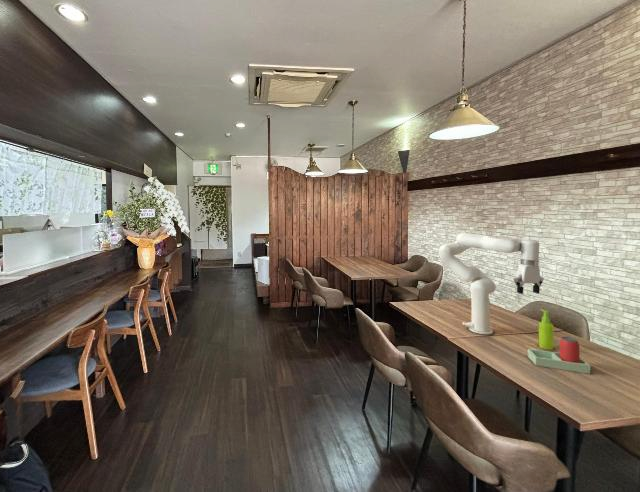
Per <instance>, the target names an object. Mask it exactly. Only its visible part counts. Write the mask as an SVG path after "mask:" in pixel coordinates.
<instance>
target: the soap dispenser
mask: <svg viewBox="0 0 640 492" xmlns="http://www.w3.org/2000/svg"><path fill="white" fill-rule="evenodd" d="M539 310H540V311H542V312H543V315H542V316H541V321H538V347H539V348H541V349H542V350H543V349H544V350H546V351H553V350H554V324H553V323H552V322H551V317H550V316H549V314H550V313H551V312H550V311H549V310H547V309H539Z"/></svg>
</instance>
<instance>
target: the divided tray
mask: <svg viewBox="0 0 640 492" xmlns="http://www.w3.org/2000/svg"><path fill="white" fill-rule="evenodd" d="M527 357H528V358H529V360H531V361H532V362H533V364H534V365H535V366H538V367H545V368H551V369H556V370H557V369H558V370H564V371H570V372H576V373H583V374H589V375H590V374H591V364H589V363H588V362H587V361H586V360H584V359H583V358H581V356H579V363H574V362H567V361H562V360H561V359H560V352H557V351H556V352H555V351H550V350H541V349H535V348H534V349H533V348H527Z"/></svg>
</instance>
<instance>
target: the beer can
mask: <svg viewBox="0 0 640 492" xmlns="http://www.w3.org/2000/svg"><path fill="white" fill-rule="evenodd" d="M559 353H560V359H561V360H562V361H567V362H574V363H579V357H580V343H579V340H578V339H576V338H573V337H569V336H561V338H560V339H559Z"/></svg>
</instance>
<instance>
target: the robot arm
mask: <svg viewBox="0 0 640 492" xmlns="http://www.w3.org/2000/svg"><path fill="white" fill-rule="evenodd" d="M455 239H456V240H455V241H454V242H449V243H444V244H443V245H441V246H440V248H439V249H438V257H439V259H440V260H441V262H442V263H443V264H444V265H445V266H446V267H447V268H448V269H449V270H451V272H452V273H454V275H455V276H456V277H458V279H460V280H461V281H462V282H464V283H470V282H471V284H470V286H469V292H470V300H471V301H470V304H471V305H470V306H471V307H470V309H471V310H470V311H471V312H470V313H471V316H470V317H471V318H470V319H471V320H469V321H468V322H466V321H462V326H465V327H468V330H469V331H470V332H473V333H475V334H479V335H485V336H486V335H487V336H489V335H493V334H494V330H493V329H492V328H491V301H490V297H489V295H490V294H492V293H494V292H495V291H496V289H497V288H496V287H497V286H496V284H495V282H494V281H493V280H492V279H491V278H490V277H489V276H488V275H486V273H484V272H483V271H482V270H481V269H480V268H478V267H476V266H473V265H469V266H468V265H466V264H465V263H464V262H463V261H462V260H460V259H459V258H458V257H456V256H458V255H461V254H462V253H464V252H466V251H467V250H469V249H471V248H474V249H483V250H486V251H493V252H497V253H498V252H499V253H506V254H510V253H517V252H520V262H519V264H518V267H517V271H516V276H515V277H513V282H514V284H515V286H516V293H517V294H520V295H523V294H524V285H525V284H533V285H532V293H535V294H538V295H539V294H540V289H541V288H540V287H541V286H542V284H543V282H544V280H545V277H543V276H541V270H540V269H541V268H540V265H539V263H540V242H539V241H538V240H533V239H528V240H527V239H519V238H508V239H506V238H505V239H504V238H496V237H491V236H489V235H487V234H486V235H485V234H477V233H476V234H474V233H472V232H463V233H459V234H458V235H457V236H456V238H455Z"/></svg>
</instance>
